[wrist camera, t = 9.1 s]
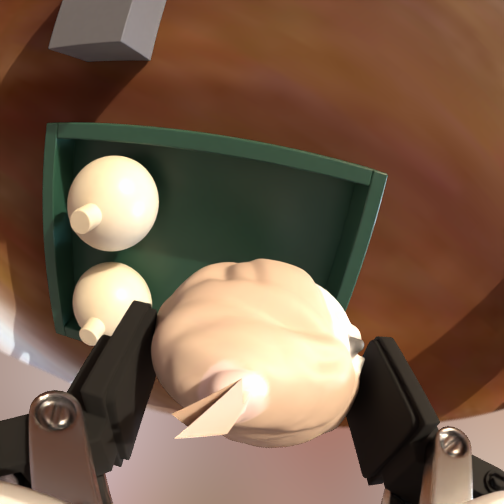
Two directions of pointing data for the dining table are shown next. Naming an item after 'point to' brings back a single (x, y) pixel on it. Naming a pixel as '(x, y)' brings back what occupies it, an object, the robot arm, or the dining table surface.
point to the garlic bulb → (257, 354)
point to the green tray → (211, 209)
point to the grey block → (107, 29)
